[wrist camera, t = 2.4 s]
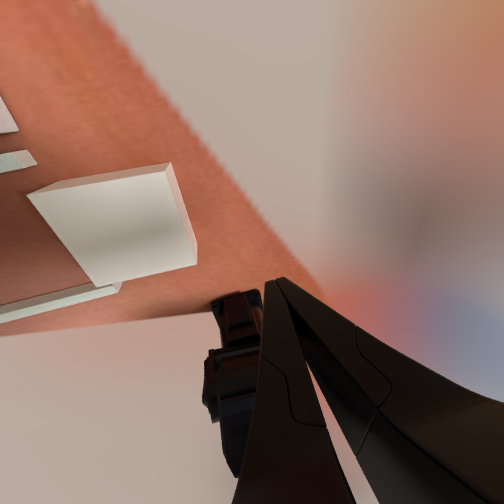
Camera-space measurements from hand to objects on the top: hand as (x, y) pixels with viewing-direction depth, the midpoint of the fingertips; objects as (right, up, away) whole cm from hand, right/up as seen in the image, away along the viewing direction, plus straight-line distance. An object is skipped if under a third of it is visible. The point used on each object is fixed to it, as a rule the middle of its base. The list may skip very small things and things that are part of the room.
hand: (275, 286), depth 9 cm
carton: (-11, +5, +10) cm, 16 cm away
